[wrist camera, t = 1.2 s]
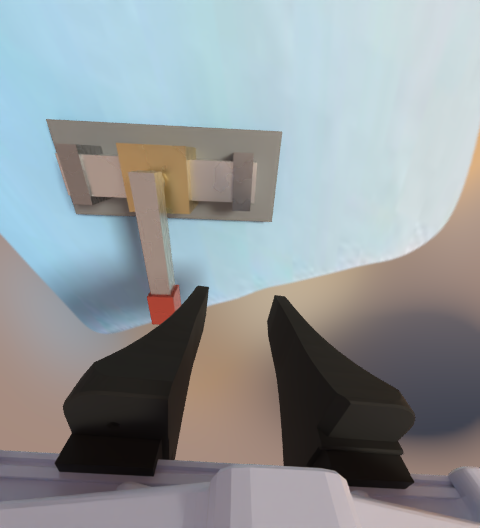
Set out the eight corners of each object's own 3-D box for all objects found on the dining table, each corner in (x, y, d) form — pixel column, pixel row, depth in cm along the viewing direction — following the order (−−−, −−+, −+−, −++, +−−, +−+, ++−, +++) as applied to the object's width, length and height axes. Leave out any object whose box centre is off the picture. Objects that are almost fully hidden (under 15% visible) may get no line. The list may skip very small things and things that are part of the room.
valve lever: (137, 169, 14) (121, 172, 12) (168, 171, 14) (157, 173, 12) (160, 307, 19) (152, 324, 17) (182, 307, 19) (176, 324, 17)
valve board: (83, 211, 20) (76, 213, 19) (56, 120, 17) (46, 119, 16) (270, 218, 21) (271, 221, 20) (279, 132, 17) (282, 131, 16)
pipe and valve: (95, 198, 19) (62, 209, 15) (80, 141, 17) (38, 138, 13) (251, 205, 19) (254, 216, 16) (255, 150, 17) (259, 149, 14)
